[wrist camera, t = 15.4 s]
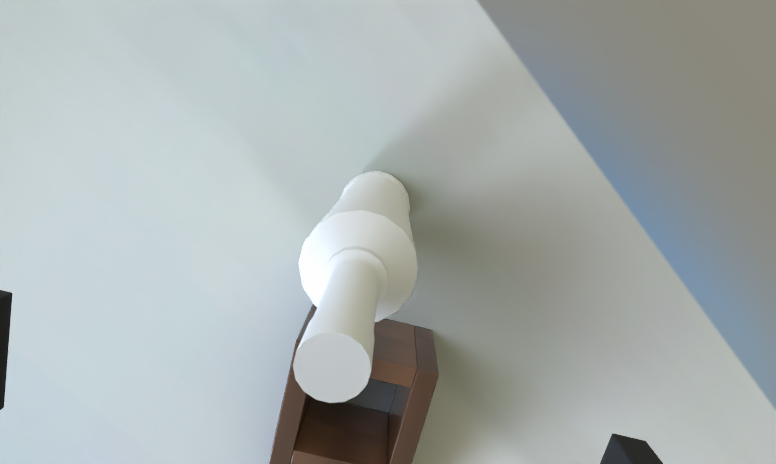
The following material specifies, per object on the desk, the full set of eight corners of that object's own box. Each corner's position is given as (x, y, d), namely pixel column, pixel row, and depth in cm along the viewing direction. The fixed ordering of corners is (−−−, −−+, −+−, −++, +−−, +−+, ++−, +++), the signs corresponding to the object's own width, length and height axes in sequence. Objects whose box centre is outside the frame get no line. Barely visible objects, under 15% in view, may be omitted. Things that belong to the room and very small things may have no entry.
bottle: (407, 238, 37) (423, 460, 13) (340, 233, 38) (233, 447, 13) (412, 171, 36) (440, 280, 12) (343, 166, 36) (231, 266, 12)
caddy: (271, 486, 43) (247, 556, 36) (314, 301, 39) (296, 339, 32) (378, 511, 43) (375, 584, 36) (432, 329, 39) (439, 374, 32)
